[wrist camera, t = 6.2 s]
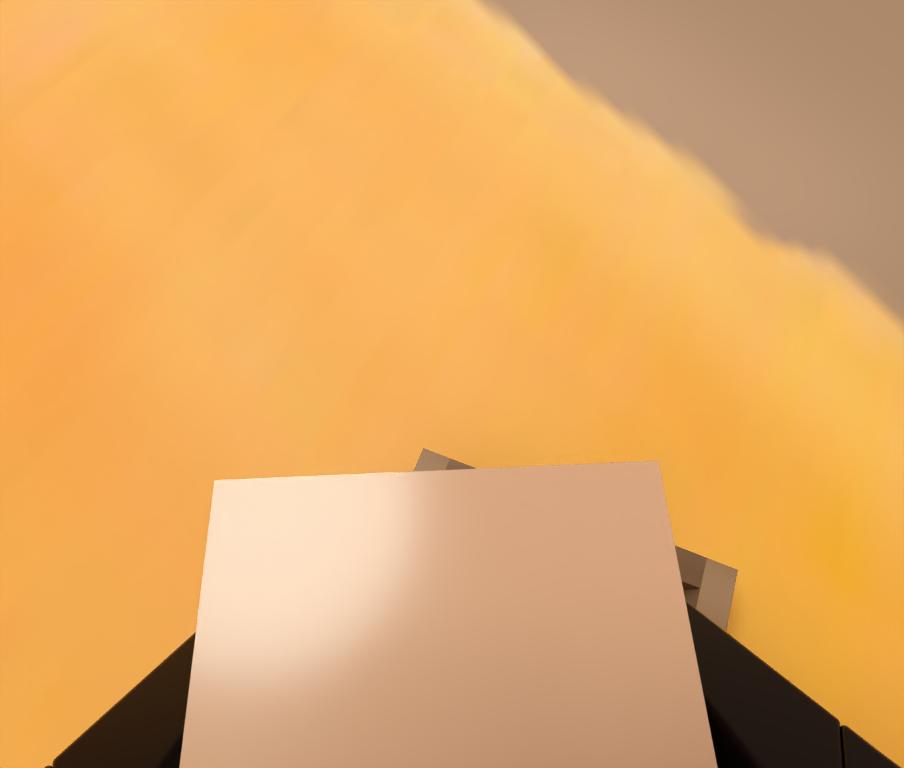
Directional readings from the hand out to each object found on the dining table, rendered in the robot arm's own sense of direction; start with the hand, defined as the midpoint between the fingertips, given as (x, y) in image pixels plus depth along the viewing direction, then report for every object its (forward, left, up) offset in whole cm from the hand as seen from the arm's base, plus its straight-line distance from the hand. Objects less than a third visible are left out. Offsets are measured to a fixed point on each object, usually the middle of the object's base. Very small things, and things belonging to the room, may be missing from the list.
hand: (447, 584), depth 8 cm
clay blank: (-1, +1, -7) cm, 7 cm away
